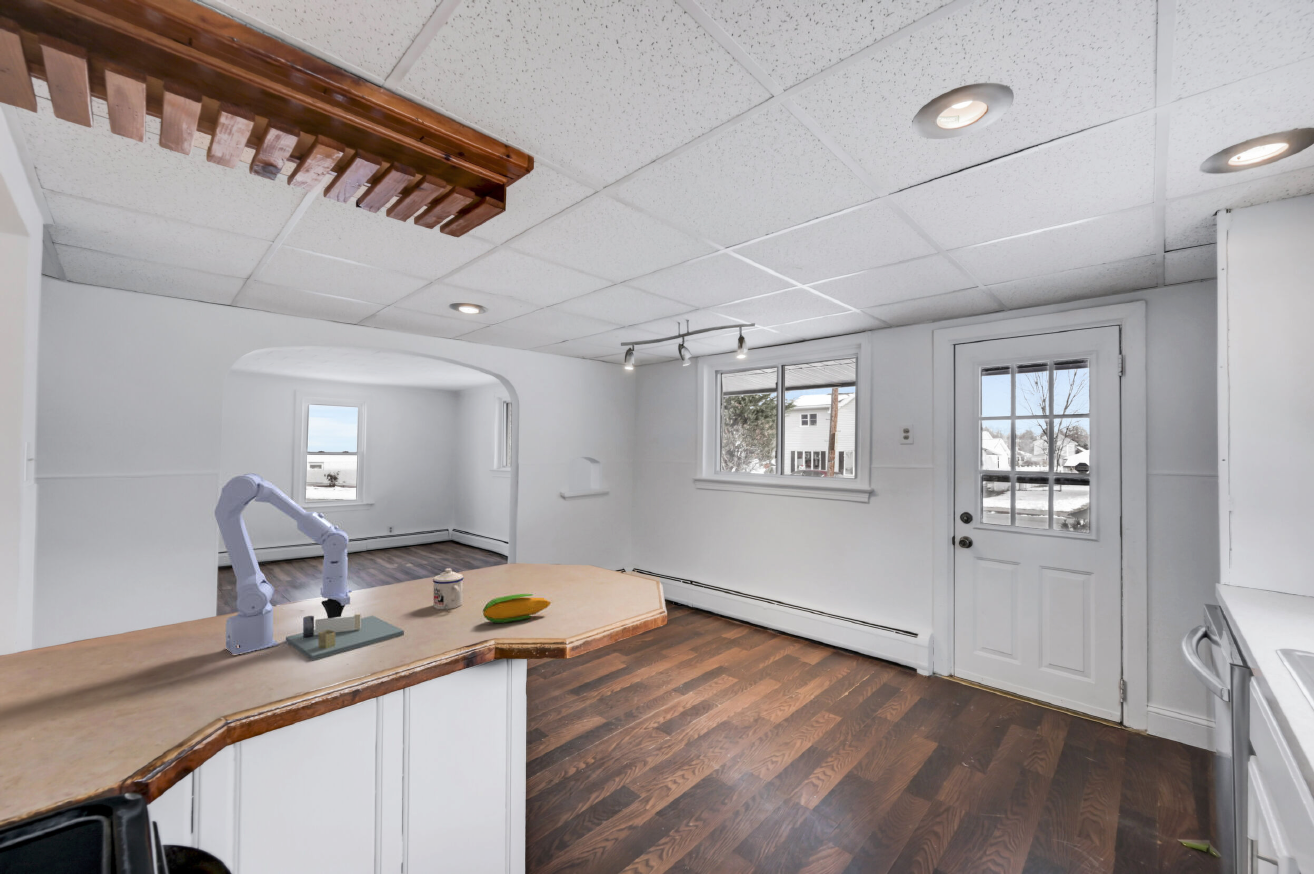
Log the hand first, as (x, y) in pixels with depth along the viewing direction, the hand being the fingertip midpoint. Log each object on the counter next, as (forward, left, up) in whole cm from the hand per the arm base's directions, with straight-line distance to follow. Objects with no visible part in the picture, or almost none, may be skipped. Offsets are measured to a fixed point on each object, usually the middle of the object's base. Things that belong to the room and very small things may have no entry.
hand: (334, 625), depth 146 cm
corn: (+40, -27, -3) cm, 48 cm away
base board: (+1, -4, -3) cm, 5 cm away
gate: (0, -2, -1) cm, 2 cm away
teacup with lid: (+33, -1, -3) cm, 33 cm away
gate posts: (-5, -5, -1) cm, 7 cm away
